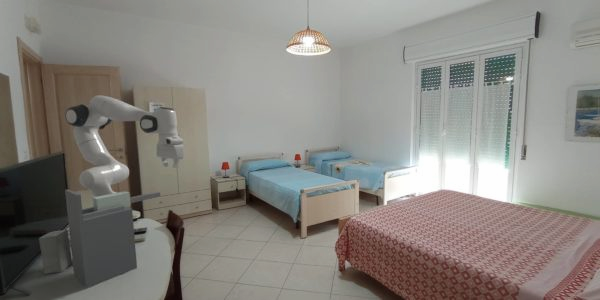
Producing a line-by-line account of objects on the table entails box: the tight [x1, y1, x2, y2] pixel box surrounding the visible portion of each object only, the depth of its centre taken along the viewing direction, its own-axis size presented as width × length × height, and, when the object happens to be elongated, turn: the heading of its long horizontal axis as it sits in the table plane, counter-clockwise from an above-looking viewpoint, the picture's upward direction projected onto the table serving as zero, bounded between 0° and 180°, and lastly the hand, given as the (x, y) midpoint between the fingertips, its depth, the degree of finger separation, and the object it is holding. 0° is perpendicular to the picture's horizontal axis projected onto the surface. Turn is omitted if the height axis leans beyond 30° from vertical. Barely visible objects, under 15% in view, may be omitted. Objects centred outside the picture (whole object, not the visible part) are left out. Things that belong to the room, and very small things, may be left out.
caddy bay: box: [64, 189, 138, 289], centre depth 115 cm, size 14×18×36 cm
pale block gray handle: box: [92, 190, 161, 212], centre depth 123 cm, size 4×26×6 cm, turn 143°
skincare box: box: [38, 229, 73, 275], centre depth 120 cm, size 8×7×16 cm
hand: (170, 167), depth 142 cm, fingers open, 8 cm apart
